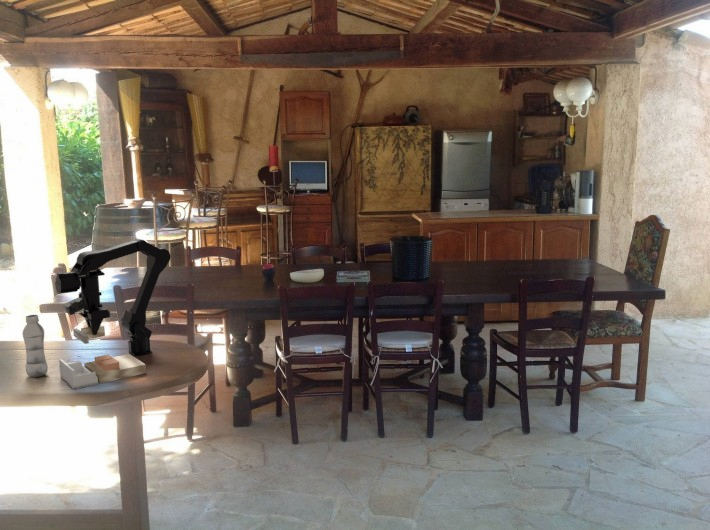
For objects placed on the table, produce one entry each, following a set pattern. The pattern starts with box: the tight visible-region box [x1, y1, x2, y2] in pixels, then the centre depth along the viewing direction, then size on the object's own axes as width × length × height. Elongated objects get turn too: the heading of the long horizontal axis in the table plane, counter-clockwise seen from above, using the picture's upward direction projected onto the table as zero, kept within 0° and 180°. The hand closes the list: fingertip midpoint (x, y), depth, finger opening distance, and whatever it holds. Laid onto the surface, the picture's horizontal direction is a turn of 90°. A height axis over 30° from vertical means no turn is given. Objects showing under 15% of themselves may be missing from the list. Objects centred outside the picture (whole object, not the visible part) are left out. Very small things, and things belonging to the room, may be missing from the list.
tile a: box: [94, 354, 114, 366], centre depth 211 cm, size 4×4×2 cm
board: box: [83, 353, 147, 385], centre depth 211 cm, size 15×14×3 cm
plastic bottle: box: [22, 314, 49, 378], centre depth 206 cm, size 6×7×20 cm
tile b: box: [100, 359, 120, 371], centre depth 207 cm, size 4×4×2 cm
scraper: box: [72, 324, 106, 344], centre depth 219 cm, size 8×12×4 cm
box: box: [58, 358, 99, 390], centre depth 203 cm, size 7×14×6 cm, turn 40°
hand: (93, 334), depth 219 cm, fingers closed on scraper, 2 cm apart
